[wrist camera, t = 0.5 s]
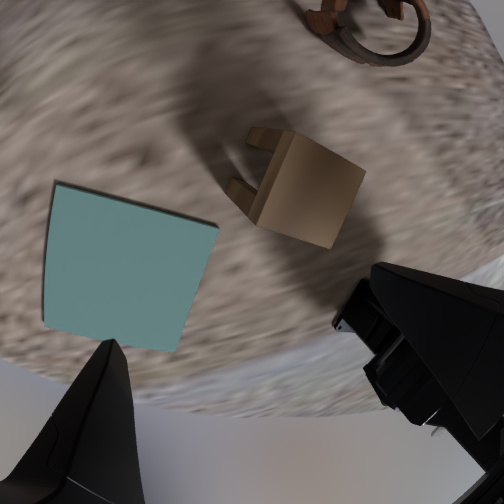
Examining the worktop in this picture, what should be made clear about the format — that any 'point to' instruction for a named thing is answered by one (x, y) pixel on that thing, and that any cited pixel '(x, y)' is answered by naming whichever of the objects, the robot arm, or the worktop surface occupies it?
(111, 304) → the mat
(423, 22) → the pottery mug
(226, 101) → the worktop surface
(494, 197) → the worktop surface
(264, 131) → the brown u-shaped block
